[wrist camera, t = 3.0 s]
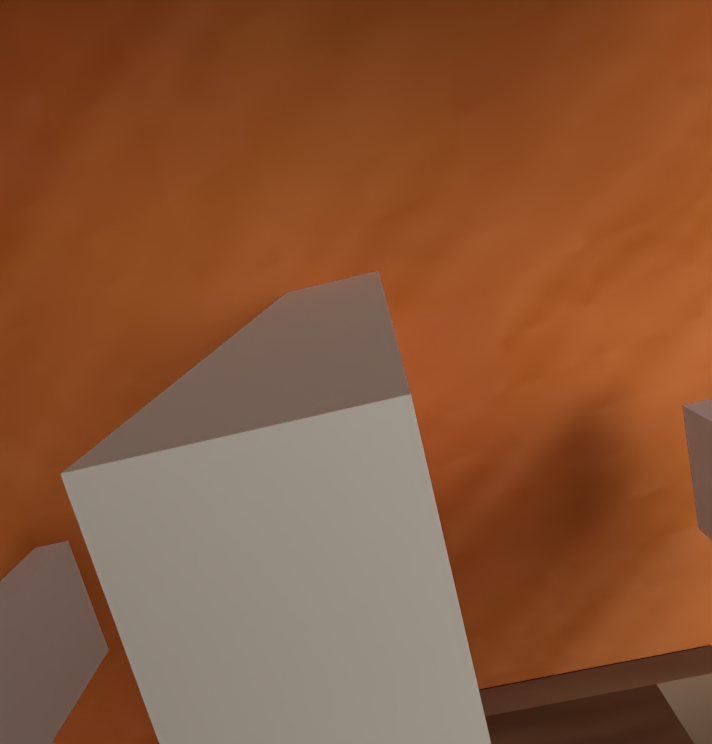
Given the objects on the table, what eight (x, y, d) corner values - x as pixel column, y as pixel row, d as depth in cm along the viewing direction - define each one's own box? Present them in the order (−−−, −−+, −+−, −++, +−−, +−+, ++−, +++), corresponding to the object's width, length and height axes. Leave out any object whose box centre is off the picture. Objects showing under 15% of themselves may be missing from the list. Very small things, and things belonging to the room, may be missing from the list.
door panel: (282, 293, 16) (47, 476, 4) (378, 270, 16) (411, 393, 4) (372, 633, 18) (382, 1380, 6) (458, 615, 18) (630, 1349, 6)
